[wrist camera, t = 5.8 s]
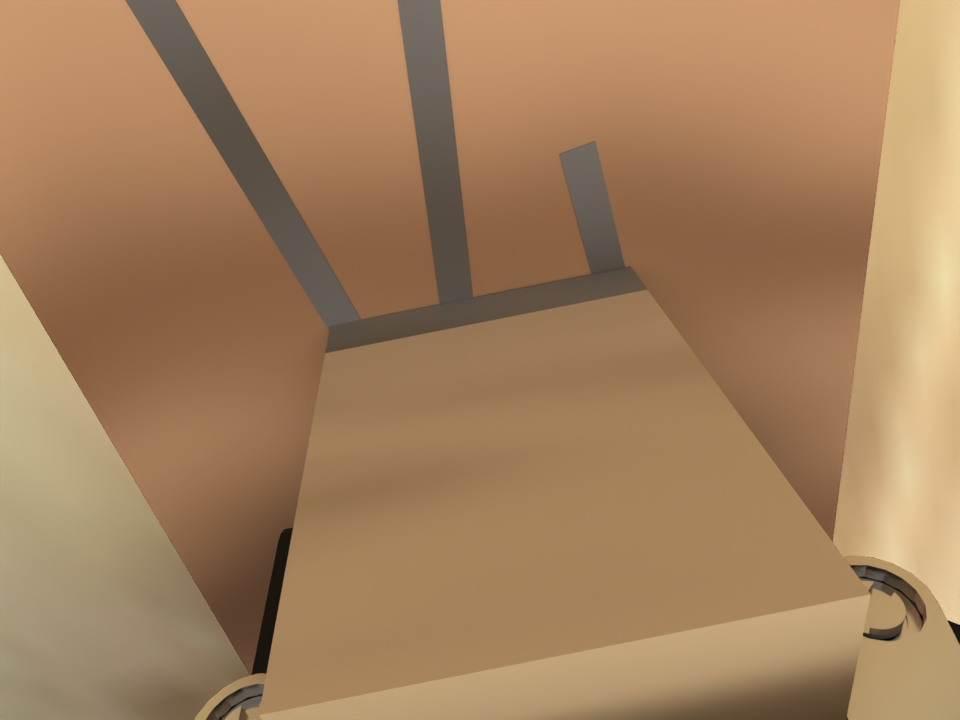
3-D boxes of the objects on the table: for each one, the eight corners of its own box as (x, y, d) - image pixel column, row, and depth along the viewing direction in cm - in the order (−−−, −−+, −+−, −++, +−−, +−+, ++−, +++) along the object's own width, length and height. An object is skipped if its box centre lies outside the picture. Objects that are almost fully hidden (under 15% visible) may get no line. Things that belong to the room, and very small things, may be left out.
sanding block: (648, 584, 14) (797, 963, 9) (427, 628, 14) (444, 1032, 9) (630, 266, 10) (870, 594, 5) (330, 325, 10) (259, 714, 5)
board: (783, 632, 18) (815, 687, 16) (324, 728, 18) (318, 790, 16) (948, -1431, 5) (1142, -1915, 4) (-643, -1074, 5) (-996, -1422, 4)
